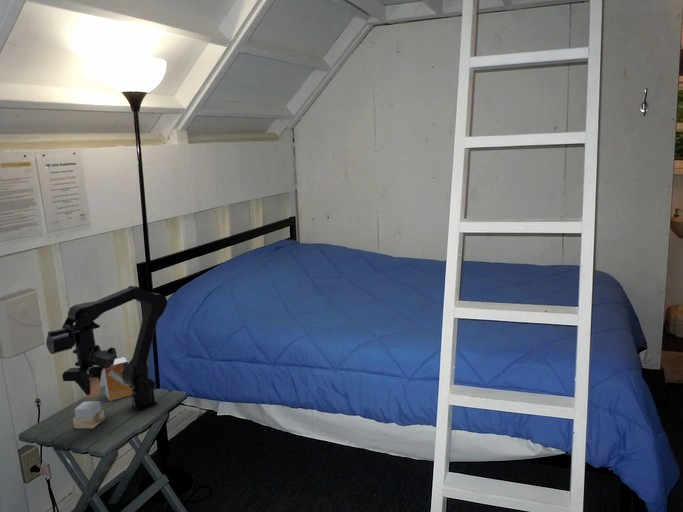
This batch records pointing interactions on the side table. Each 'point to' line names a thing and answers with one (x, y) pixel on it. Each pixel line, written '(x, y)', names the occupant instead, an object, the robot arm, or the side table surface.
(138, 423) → the side table surface
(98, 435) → the side table surface
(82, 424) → the oak base block
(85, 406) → the grey-blue top block
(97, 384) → the terracotta rounded cylinder
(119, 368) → the small box
